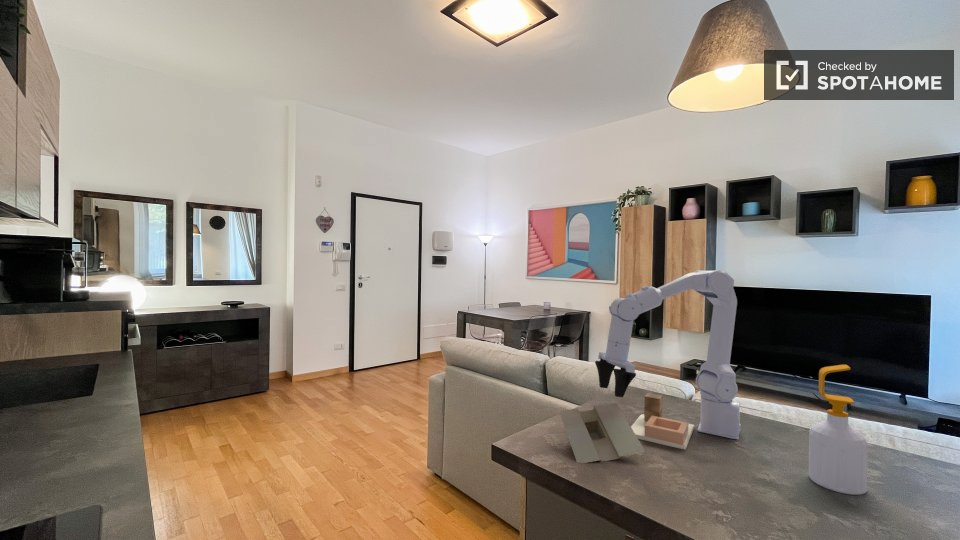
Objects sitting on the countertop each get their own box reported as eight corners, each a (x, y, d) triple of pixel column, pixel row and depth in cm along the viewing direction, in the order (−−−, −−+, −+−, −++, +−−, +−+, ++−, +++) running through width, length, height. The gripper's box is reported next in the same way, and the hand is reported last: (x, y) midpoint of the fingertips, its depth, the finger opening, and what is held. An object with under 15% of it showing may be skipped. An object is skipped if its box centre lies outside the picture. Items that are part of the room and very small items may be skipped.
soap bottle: (872, 501, 78) (874, 372, 78) (811, 487, 83) (813, 365, 83) (860, 481, 86) (862, 364, 86) (805, 469, 91) (807, 358, 91)
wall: (640, 468, 98) (615, 411, 109) (648, 452, 93) (621, 393, 104) (573, 480, 97) (555, 421, 108) (577, 464, 91) (558, 404, 103)
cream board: (694, 428, 114) (694, 424, 114) (685, 449, 100) (685, 445, 100) (641, 417, 121) (641, 414, 121) (626, 436, 107) (626, 432, 107)
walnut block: (662, 420, 117) (662, 395, 117) (659, 424, 114) (659, 398, 114) (647, 417, 119) (647, 392, 119) (644, 421, 116) (644, 396, 116)
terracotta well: (688, 433, 107) (688, 422, 107) (683, 445, 100) (683, 433, 100) (651, 425, 112) (651, 415, 112) (644, 436, 105) (644, 425, 105)
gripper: (592, 335, 117) (584, 382, 117) (621, 346, 103) (612, 399, 102) (613, 338, 118) (606, 384, 118) (645, 349, 104) (637, 401, 104)
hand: (610, 392), depth 110 cm, fingers open, 7 cm apart
